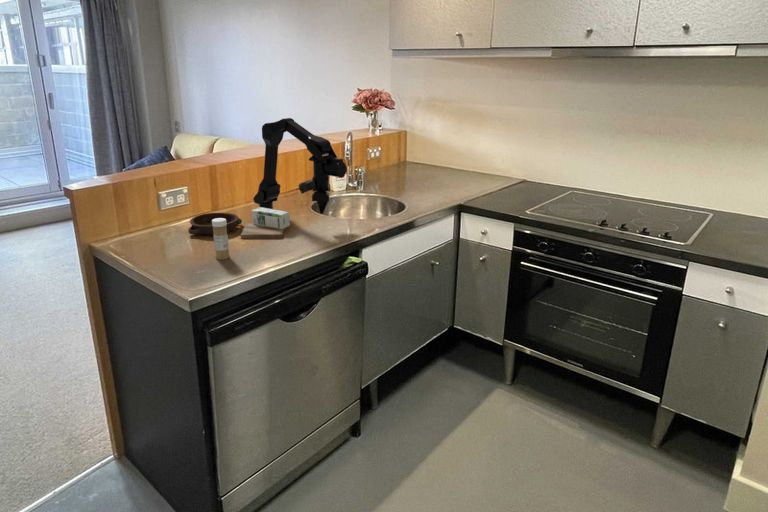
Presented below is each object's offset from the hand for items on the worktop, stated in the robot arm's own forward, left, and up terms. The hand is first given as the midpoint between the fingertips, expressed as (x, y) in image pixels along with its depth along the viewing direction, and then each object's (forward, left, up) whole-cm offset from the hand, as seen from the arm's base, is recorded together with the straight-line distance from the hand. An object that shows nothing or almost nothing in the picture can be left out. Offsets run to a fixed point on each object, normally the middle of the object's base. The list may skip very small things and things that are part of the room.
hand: (321, 213), depth 203 cm
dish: (-1, -41, -8) cm, 42 cm away
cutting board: (+1, -22, -7) cm, 23 cm away
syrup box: (+1, -14, -3) cm, 14 cm away
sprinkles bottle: (+29, -32, -7) cm, 44 cm away
